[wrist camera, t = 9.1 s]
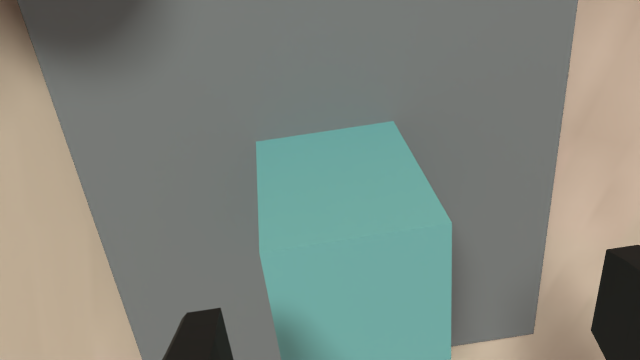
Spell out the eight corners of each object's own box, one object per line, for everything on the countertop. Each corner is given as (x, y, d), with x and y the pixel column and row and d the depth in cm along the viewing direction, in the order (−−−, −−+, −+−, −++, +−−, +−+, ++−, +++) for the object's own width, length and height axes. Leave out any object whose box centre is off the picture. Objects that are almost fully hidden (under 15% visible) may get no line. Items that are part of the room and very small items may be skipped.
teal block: (393, 121, 18) (452, 222, 13) (399, 234, 20) (450, 358, 15) (256, 141, 18) (259, 253, 13) (276, 253, 20) (286, 387, 15)
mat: (579, -81, 16) (588, -79, 16) (528, 325, 24) (533, 333, 24) (18, -18, 15) (12, -14, 15) (155, 382, 23) (153, 392, 23)
